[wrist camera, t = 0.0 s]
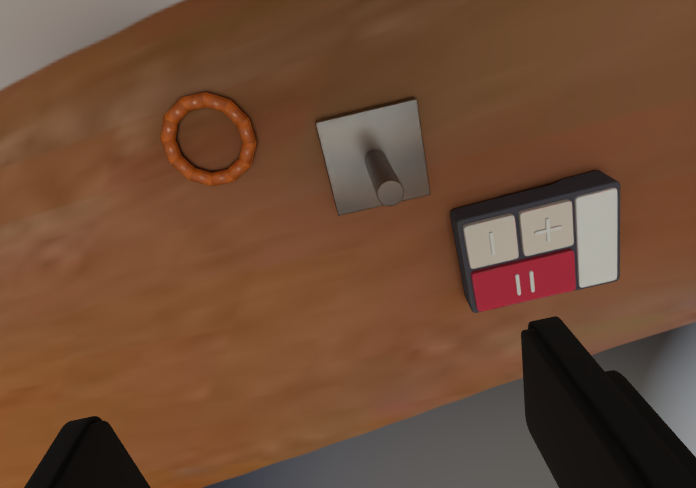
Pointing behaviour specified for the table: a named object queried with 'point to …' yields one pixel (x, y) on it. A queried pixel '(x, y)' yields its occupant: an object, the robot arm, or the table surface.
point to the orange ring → (217, 104)
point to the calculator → (539, 241)
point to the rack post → (375, 156)
